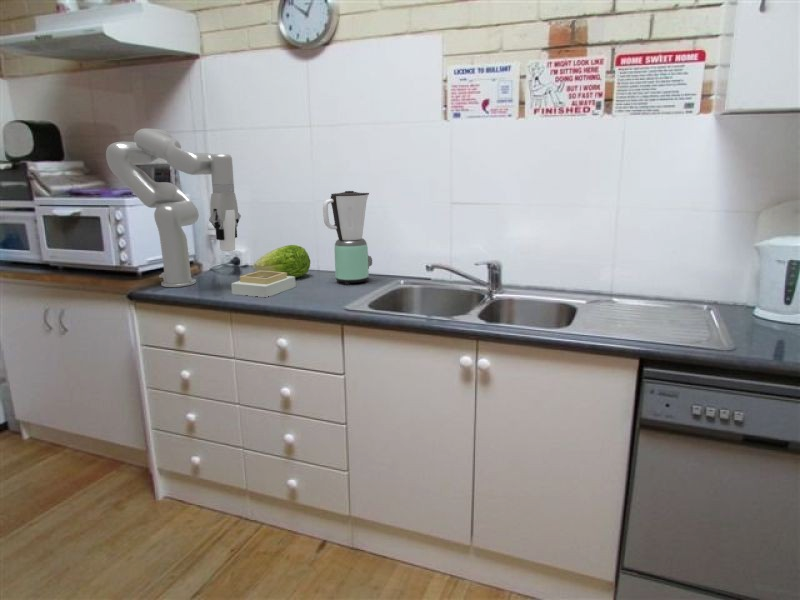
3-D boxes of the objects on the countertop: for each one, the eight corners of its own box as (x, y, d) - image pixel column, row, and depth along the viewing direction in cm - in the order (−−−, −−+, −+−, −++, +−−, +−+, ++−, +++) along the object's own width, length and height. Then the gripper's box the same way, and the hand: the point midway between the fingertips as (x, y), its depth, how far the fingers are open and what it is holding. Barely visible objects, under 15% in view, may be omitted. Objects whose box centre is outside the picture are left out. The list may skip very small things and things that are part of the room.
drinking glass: (231, 252, 196) (228, 210, 192) (214, 251, 197) (211, 210, 193) (240, 249, 202) (238, 209, 198) (224, 248, 203) (221, 208, 200)
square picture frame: (232, 294, 193) (230, 277, 192) (265, 283, 210) (264, 268, 209) (266, 297, 187) (264, 280, 186) (297, 286, 204) (296, 270, 203)
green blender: (363, 276, 221) (360, 189, 212) (379, 282, 209) (377, 191, 201) (320, 281, 211) (316, 191, 203) (334, 288, 200) (330, 193, 191)
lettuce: (269, 273, 234) (259, 244, 229) (318, 269, 225) (309, 238, 220) (250, 288, 221) (240, 257, 216) (301, 283, 212) (291, 251, 207)
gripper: (231, 187, 203) (234, 235, 207) (197, 190, 188) (202, 241, 192) (247, 188, 200) (250, 236, 205) (214, 190, 185) (218, 242, 189)
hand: (227, 238), depth 198 cm, fingers closed on drinking glass, 6 cm apart
